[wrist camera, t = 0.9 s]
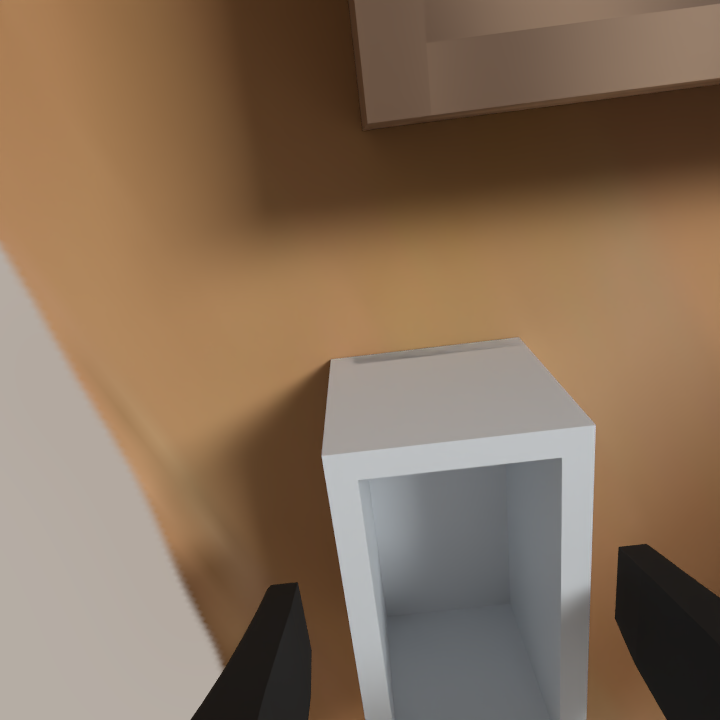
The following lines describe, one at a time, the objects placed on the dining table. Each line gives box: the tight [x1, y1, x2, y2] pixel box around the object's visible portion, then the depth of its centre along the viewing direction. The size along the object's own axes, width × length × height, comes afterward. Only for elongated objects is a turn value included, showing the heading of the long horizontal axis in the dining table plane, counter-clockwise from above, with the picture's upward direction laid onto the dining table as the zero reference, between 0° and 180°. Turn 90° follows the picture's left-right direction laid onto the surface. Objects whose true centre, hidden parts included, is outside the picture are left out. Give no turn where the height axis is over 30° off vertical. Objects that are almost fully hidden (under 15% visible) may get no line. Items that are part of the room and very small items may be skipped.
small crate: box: [322, 337, 596, 720], centre depth 14 cm, size 5×9×5 cm, turn 7°
